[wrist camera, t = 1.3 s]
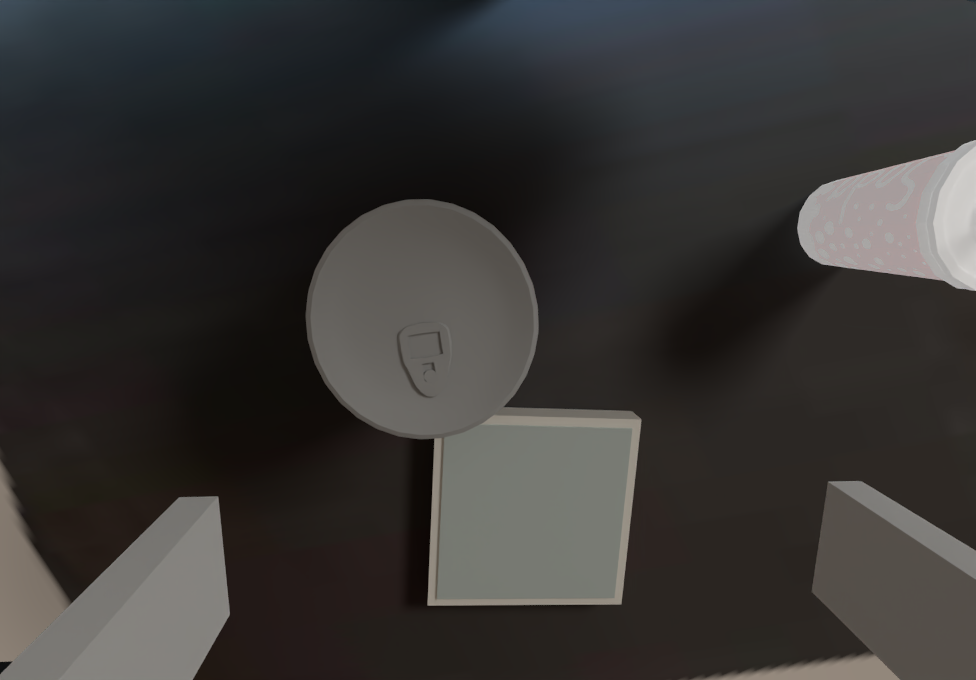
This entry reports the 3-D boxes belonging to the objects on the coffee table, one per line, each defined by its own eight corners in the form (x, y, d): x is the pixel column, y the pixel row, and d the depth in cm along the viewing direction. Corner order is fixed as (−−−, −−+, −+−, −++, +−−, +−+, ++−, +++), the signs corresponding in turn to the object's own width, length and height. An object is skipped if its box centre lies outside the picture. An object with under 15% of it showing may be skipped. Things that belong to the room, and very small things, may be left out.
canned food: (395, 390, 29) (368, 477, 18) (329, 252, 27) (256, 255, 16) (526, 334, 29) (577, 386, 18) (467, 193, 27) (485, 157, 16)
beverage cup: (866, 144, 29) (1259, 49, 15) (904, 245, 30) (1302, 243, 16) (766, 201, 29) (1066, 159, 15) (809, 299, 30) (1123, 344, 16)
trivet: (435, 405, 29) (435, 414, 27) (631, 411, 30) (642, 420, 28) (428, 588, 31) (427, 607, 29) (612, 587, 32) (622, 606, 30)
